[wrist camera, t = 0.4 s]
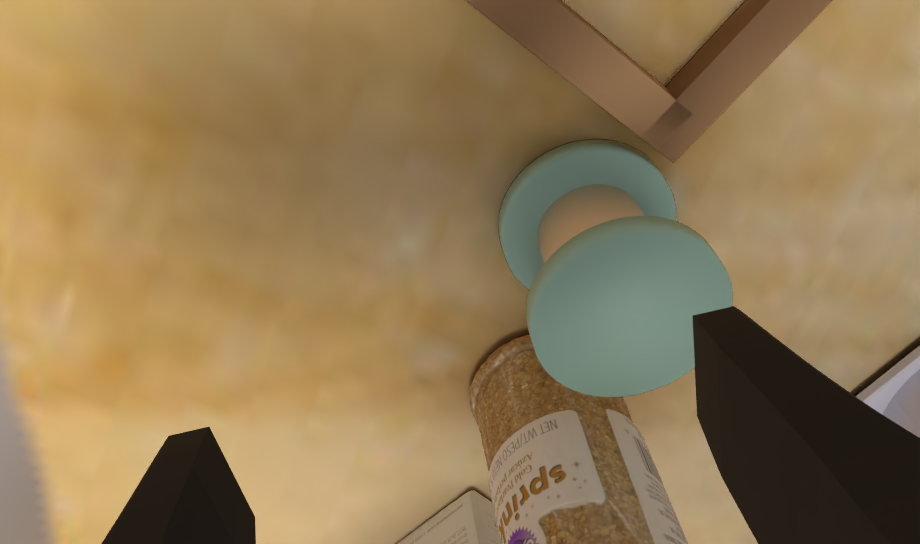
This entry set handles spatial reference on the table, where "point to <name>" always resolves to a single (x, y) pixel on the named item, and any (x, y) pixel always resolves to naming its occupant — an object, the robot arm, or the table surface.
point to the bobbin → (608, 269)
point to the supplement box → (459, 524)
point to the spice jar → (564, 459)
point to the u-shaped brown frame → (632, 88)
